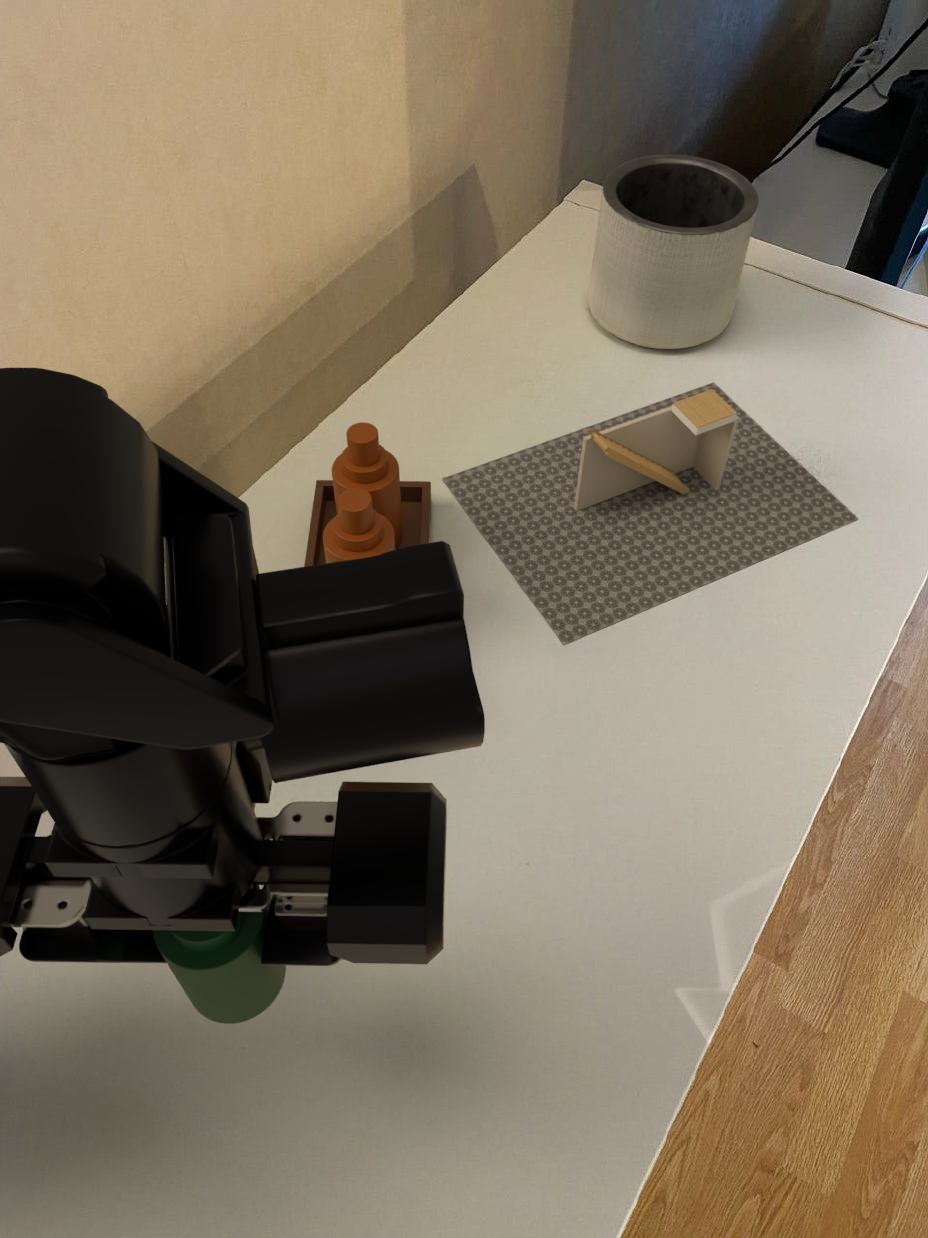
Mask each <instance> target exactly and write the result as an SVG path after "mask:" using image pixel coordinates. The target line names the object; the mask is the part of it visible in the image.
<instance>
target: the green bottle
mask: <svg viewBox="0 0 928 1238" xmlns="http://www.w3.org/2000/svg"><path fill="white" fill-rule="evenodd" d="M251 887H252V885H251ZM251 887H250V888H249V889H251ZM259 888H260V886H259ZM260 889H261V888H260ZM267 914H268V909H267V910H266V911H263V912H238V918H237V924H236V931H180V930H152V932H153V937H154V941H155V943H156V946H157V948H158V949H159V951H160V952H161V954H162V956H163V957H164V959H165V961H166V962H167V963H166V964H167V966H168V967H169V968H170V971H171V973H172V974H173V975H174V977H175V978H176V980H177V982H178V984H179V985H180V987H181V989H182V990H183V992H184V993H185V995H186V996H187V998H188V1001H189V1002H190V1003H191V1005H192V1006H193V1008H194V1009H195V1010H196V1011H197V1012H198V1013H199V1014H200V1015H201V1016H202V1017H204V1018H206V1019H207V1020H209V1021H211V1022H214V1023H218V1024H225V1025H229V1024H230V1025H234V1024H240V1023H244V1022H247V1021H250V1020H252V1019H254V1018H256V1017H257V1016H260V1015H261V1014H262V1013H263V1012H265V1011H266V1010H267V1009H268V1008H269V1007H270V1006H271V1005H272V1004H273V1003H274V1001H275V1000H276V999H277V997H278V996H279V994H280V992H281V990H282V988H283V986H284V982H285V979H286V972H287V966H285V965H262V964H261V957H262V950H263V943H264V936H265V928H266V921H267Z"/></svg>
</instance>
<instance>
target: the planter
mask: <svg viewBox="0 0 928 1238" xmlns="http://www.w3.org/2000/svg"><path fill="white" fill-rule="evenodd" d="M601 189H602V191H601V197H600V205H599V213H598V221H597V229H596V236H595V243H594V250H593V257H592V263H591V264H592V265H591V271H590V277H589V284H588V285H589V286H588V294H587V295H588V296H587V298H588V308H589V311H590V313H591V315H592V317H593V318H594V319H595V321H596V322H597V323H598V324H599V325H600V326H601V327H602V328H603V329H604V330H606V331H607V332H608V333H610V334H612V335H613V336H615V337H616V338H618V339H621V340H623V341H624V342H628V343H631V344H632V345H636V346H639V347H643V348H649V349H655V350H656V349H657V350H679V349H686V348H691V347H695V346H698V345H702V344H705V343H707V342H709V341H711V340H713V339H715V338H717V337H718V336H719V335H720V334H721V333H723V332H724V331H725V329H726V328H727V327H728V325H729V324H730V321H731V318H732V317H733V313H734V309H735V305H736V301H737V297H738V292H739V288H740V284H741V280H742V275H743V270H744V267H745V262H746V258H747V254H748V253H747V252H748V248H749V245H750V241H751V236H752V232H753V229H754V224H755V221H756V216H757V212H758V209H759V208H758V207H759V195H758V192H757V190H756V188H755V186H754V185H753V184H752V182H750V180H749V179H748V178H747V177H745V176H744V175H743V174H741V173H740V172H738V171H737V170H735V169H733V168H731V167H730V166H727V165H725V164H723V163H720V162H718V161H714V160H711V159H707V158H704V157H698V156H694V155H684V154H653V155H645V156H641V157H637V158H634V159H631V160H628V161H626V162H623V163H621V164H620V165H618V166H616V167H615V168H614V169H612V170H611V171H610V172H609V173H608V174H607V175H606V177H605V179H604V181H603V185H602V188H601Z"/></svg>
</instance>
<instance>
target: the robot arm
mask: <svg viewBox="0 0 928 1238" xmlns="http://www.w3.org/2000/svg"><path fill="white" fill-rule="evenodd" d="M251 525H252V524H251V516H250V508H249V505H248V504H247V503H246V502H245V501H243V500H242V499H240V498H239V497H237V496H236V495H235V494H233V493H231V492H230V491H228V490H227V489H225V488H223V486H221V485H219V484H218V483H216V482H215V481H213V480H212V479H210V478H209V477H207V476H205V475H204V474H202V473H201V472H200V471H198V470H196V469H195V468H193V467H192V466H191V465H189V464H187V463H186V462H185V461H183V460H182V459H180V458H178V457H177V456H176V455H174V454H173V453H171V452H170V451H168V450H166V449H165V448H163V447H162V446H161V445H159V444H157V443H156V442H154V441H152V440H151V438H150V437H149V435H148V433H147V432H146V430H145V429H144V427H143V425H142V424H141V422H140V421H138V420H137V418H135V417H133V416H132V415H131V414H130V413H129V412H127V411H126V410H125V409H124V408H122V407H121V406H120V405H119V404H117V402H115V401H114V400H112V399H111V398H109V393H108V391H107V389H106V388H104V386H101V385H100V384H98V383H95V382H92V381H90V380H87V379H85V378H83V377H80V376H78V375H75V374H71V373H65V372H61V371H56V370H51V369H48V368H47V369H46V368H42V367H0V743H1V744H3V745H4V746H5V747H6V749H7V750H8V752H9V754H10V755H11V757H12V759H13V760H14V761H15V763H16V765H17V766H18V767H19V769H20V771H21V772H22V774H23V775H24V776H0V957H2V956H5V955H7V954H8V953H10V952H12V951H13V950H14V947H15V944H16V940H17V937H18V934H19V933H18V932H17V930H16V929H15V928H22V932H21V935H20V940H19V942H18V949H19V953H20V955H21V956H22V957H23V958H24V959H25V960H27V961H29V962H32V963H33V962H34V963H35V962H36V963H91V964H92V963H93V964H94V963H97V964H120V963H123V964H124V963H125V964H167V962H166V961H165V959H164V957H163V956H162V954H161V952H160V951H159V949H158V948H157V946H156V943H155V941H154V937H153V932H152V930H180V931H236V924H237V918H238V912H263V911H266V910H267V909H268V914H267V921H266V928H265V936H264V943H263V950H262V957H261V964H262V965H285V966H286V967H287V966H288V967H290V966H292V967H293V966H294V967H295V966H296V967H331V966H335V965H336V964H338V963H339V962H340V961H341V960H344V961H347V962H348V963H349V962H350V963H352V964H376V965H377V964H383V965H384V964H385V965H429V963H430V962H432V960H433V959H435V957H436V956H438V955H439V954H440V953H441V952H442V951H443V950H444V941H445V940H444V939H445V904H446V868H447V867H446V866H447V865H446V862H447V861H446V860H447V825H448V824H447V823H448V822H447V821H448V816H447V815H448V814H447V813H448V811H447V810H448V809H447V804H448V803H447V802H448V801H447V798H446V797H445V796H444V795H443V793H442V792H441V791H440V790H439V789H438V788H437V787H436V785H435V784H433V782H404V781H403V782H399V781H398V782H394V781H393V782H392V781H391V782H389V781H342V783H341V785H340V787H339V789H338V793H337V801H311V800H310V801H306V800H305V801H304V800H303V801H300V800H299V801H292V802H290V803H287V804H286V805H284V806H283V807H282V808H281V810H280V811H279V813H278V814H277V815H275V816H273V817H271V816H269V817H268V816H267V817H266V816H265V817H264V816H257V815H256V812H255V810H256V804H269V803H270V800H271V794H272V793H271V792H272V786H273V783H274V784H278V783H283V782H289V781H294V780H301V779H306V778H310V777H316V776H322V775H328V774H334V773H338V772H345V771H351V770H355V769H356V770H357V769H361V768H367V767H372V766H373V767H374V766H379V765H382V764H383V765H384V764H389V763H394V762H400V761H406V760H412V759H417V758H422V757H423V758H424V757H428V756H433V755H434V756H435V755H439V754H444V753H449V752H450V753H451V752H457V751H461V750H467V749H472V748H478V747H481V746H482V745H483V744H484V741H485V731H486V730H485V729H486V725H485V724H486V719H485V711H484V707H483V704H482V699H481V695H480V692H479V689H478V688H479V687H478V685H477V681H476V677H475V674H474V669H473V662H472V661H473V660H472V656H471V649H470V648H471V647H470V642H469V638H468V632H467V627H466V622H465V594H464V589H463V586H462V583H461V580H460V575H459V572H458V569H457V565H456V561H455V558H454V557H455V556H454V555H453V551H452V547H451V544H450V543H448V542H446V541H444V540H439V541H432V542H431V541H430V543H425V544H418V545H412V546H407V547H402V548H398V549H395V550H392V551H389V552H386V553H383V554H380V555H376V556H371V557H366V558H359V559H353V560H346V561H339V562H333V563H326V564H319V565H313V566H306V567H304V566H301V567H300V566H299V567H294V568H286V569H281V570H280V569H279V570H274V571H267V572H261V573H260V571H259V567H258V561H257V558H256V552H255V548H254V545H253V544H254V543H253V536H252V535H253V533H252V526H251ZM47 812H48V814H49V816H50V817H51V819H52V821H53V822H54V824H53V826H52V830H51V832H50V833H51V834H48V835H47V836H36V835H37V834H36V833H37V832H38V827H39V824H40V820H41V818H42V815H44V813H47ZM251 885H252V887H251ZM260 886H262V887H261V888H259V887H260ZM250 887H251V889H249V888H250Z"/></svg>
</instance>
